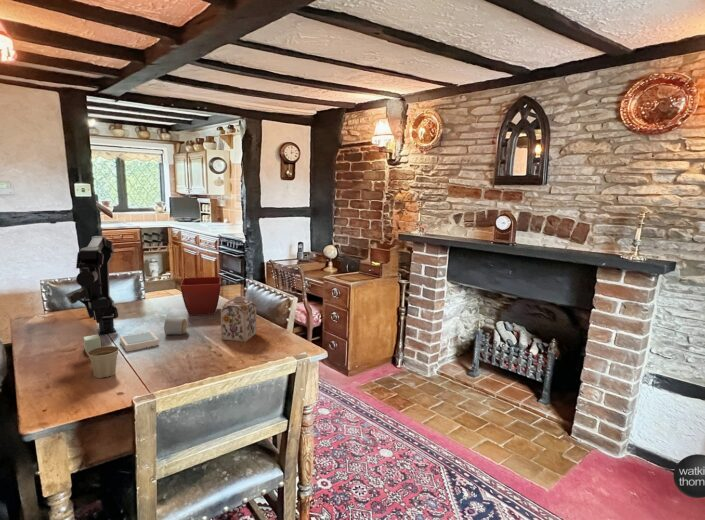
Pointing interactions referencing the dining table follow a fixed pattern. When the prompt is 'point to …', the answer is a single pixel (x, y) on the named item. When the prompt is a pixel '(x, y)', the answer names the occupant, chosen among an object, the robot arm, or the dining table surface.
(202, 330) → the dining table surface
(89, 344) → the cube
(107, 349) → the flower pot
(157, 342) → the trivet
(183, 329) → the ceramic mug
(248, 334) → the decorative jar
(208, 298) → the plant pot
